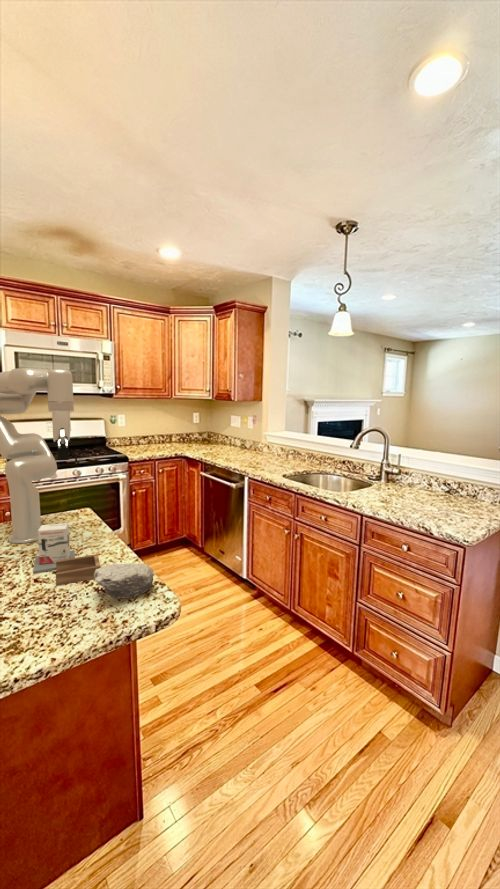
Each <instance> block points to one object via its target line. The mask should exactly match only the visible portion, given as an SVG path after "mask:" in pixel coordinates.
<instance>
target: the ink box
mask: <svg viewBox="0 0 500 889" xmlns="http://www.w3.org/2000/svg"><path fill="white" fill-rule="evenodd" d="M37 543H38V556H39V563H40V565H41V564H50V563H56V561H59V560H65V559H69V557H70V551H71V545H70V544H71V543H70V524H69V523H67V522H63V523H62V522H61V523H50V524H41V526H40V528H39V530H38V540H37Z"/></svg>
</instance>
